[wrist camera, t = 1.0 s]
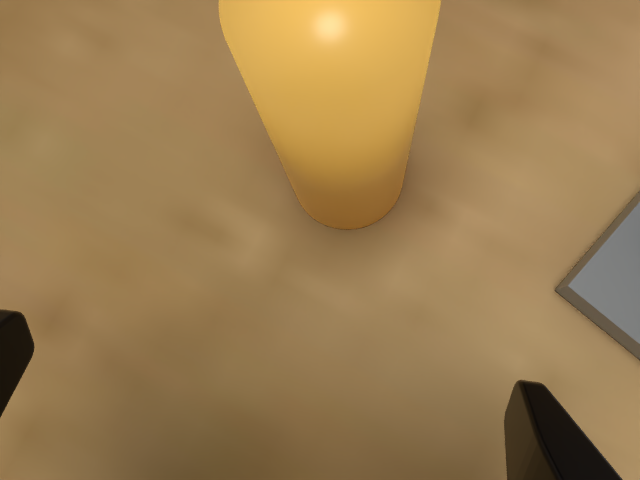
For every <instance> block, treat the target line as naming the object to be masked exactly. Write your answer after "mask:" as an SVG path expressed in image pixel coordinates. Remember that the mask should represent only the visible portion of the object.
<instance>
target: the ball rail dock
mask: <svg viewBox="0 0 640 480" xmlns="http://www.w3.org/2000/svg"><path fill="white" fill-rule="evenodd" d="M555 291H556V292H557V293H559V294H560V295H561V296H562V297H564V298H565V299H566V300H567V301H568V302H570V303H571V304H572V305H573V306H575V307H576V308H577V309H578V310H579V311H581V312H582V313H583V314H584V315H586V316H587V317H588V318H589V319H590V320H592V321H593V322H594V323H595V324H597V325H598V326H599V327H600V328H601V329H603V330H604V331H605V332H606V333H608V334H609V335H610V336H611V337H612V338H614V339H615V340H616V341H617V342H619V343H620V344H621V345H622V346H623V347H625V348H626V349H627V350H628V351H630V352H631V353H632V354H633V355H634V356H636V357H637V358H638V359H639V360H640V191H639V192H638V194H637V195H636V196H635V197H634V198H633V199H632V201H631V202H630V203H629V204H628V205H627V206H626V208H625V209H624V210H623V211H622V212H621V213H620V215H619V216H618V217H617V218H616V219H615V220H614V221H613V223H612V224H611V225H610V226H609V227H608V228H607V230H606V231H605V232H604V233H603V234H602V235H601V237H600V238H599V239H598V240H597V241H596V242H595V244H594V245H593V246H592V247H591V248H590V249H589V251H588V252H587V253H586V254H585V255H584V256H583V258H582V259H581V260H580V261H579V262H578V263H577V265H576V266H575V267H574V268H573V269H572V270H571V272H570V273H569V274H568V275H567V276H566V277H565V278H564V280H563V281H562V282H561V283H560V284H559V285H558V287H557V288H556V289H555Z"/></svg>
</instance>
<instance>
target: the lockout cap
mask: <svg viewBox="0 0 640 480" xmlns="http://www.w3.org/2000/svg"><path fill="white" fill-rule="evenodd" d="M440 4H441V0H219V16H220V22H221V27H222V30H223V33H224V37H225V39H226V42H227V44H228V46H229V48H230V50H231V53H232V55H233V57H234V59H235V61H236V64H237V66H238V68H239V70H240V72H241V75H242V77H243V79H244V81H245V84H246V86H247V88H248V90H249V92H250V95H251V97H252V99H253V101H254V103H255V106H256V108H257V110H258V112H259V114H260V117H261V119H262V121H263V123H264V126H265V128H266V130H267V132H268V134H269V137H270V139H271V141H272V143H273V145H274V148H275V150H276V152H277V154H278V156H279V159H280V161H281V163H282V165H283V168H284V170H285V172H286V174H287V176H288V179H289V181H290V183H291V185H292V187H293V190H294V192H295V194H296V196H297V198H298V200H299V202H300V204H301V206H302V207H303V209H304V210H305V211H306V212H307V213H308V214H309V215H310V216H311V217H312V218H314V219H315V220H317V221H318V222H320V223H322V224H324V225H326V226H329V227H332V228H336V229H346V230H350V229H358V228H363V227H366V226H369V225H371V224H373V223H375V222H377V221H378V220H380V219H381V218H383V217H384V216H385V215H386V214H387V213H388V212H389V211H390V210H391V209H392V208H393V206H394V205H395V203H396V202H397V199H398V197H399V195H400V192H401V189H402V185H403V180H404V176H405V171H406V166H407V161H408V157H409V152H410V147H411V143H412V138H413V133H414V128H415V124H416V119H417V114H418V110H419V105H420V100H421V96H422V91H423V86H424V81H425V77H426V72H427V67H428V63H429V58H430V53H431V48H432V44H433V39H434V34H435V30H436V25H437V20H438V15H439V10H440Z"/></svg>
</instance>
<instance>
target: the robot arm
mask: <svg viewBox="0 0 640 480" xmlns="http://www.w3.org/2000/svg"><path fill="white" fill-rule="evenodd" d="M33 352H34V341H33V339H32V336H31V333H30V330H29V327H28V324H27V322H26V319H25V317H24V315H23V314H22V313H21V312H18V311H10V310H0V417H1V415H2V413H3V411H4V410H5V408H6V406H7V404H8V402H9V400H10V398H11V396H12V394H13V392H14V390H15V389H16V387H17V385H18V383H19V381H20V379H21V377H22V375H23V373H24V371H25V369H26V368H27V366H28V364H29V362H30V360H31V358H32V356H33ZM504 430H505V448H506V466H507V480H622V478H621V477H620V476H619V475H618V473H617V472H616V471H615V470H614V469H613V467H612V466H611V465H610V464H609V463H608V461H607V460H606V459H605V458H604V457H603V455H602V454H601V453H600V452H599V450H598V449H597V448H596V447H595V446H594V444H593V443H592V442H591V441H590V440H589V438H588V437H587V436H586V435H585V433H584V432H583V431H582V430H581V429H580V427H579V426H578V425H577V424H576V423H575V421H574V420H573V419H572V418H571V417H570V415H569V414H568V413H567V412H566V410H565V409H564V408H563V407H562V406H561V404H560V403H559V402H558V401H557V400H556V398H555V397H554V396H553V395H552V394H551V392H550V391H549V390H548V389H547V387H546V386H545V385H543V384H542V383H539V382H532V381H525V380H519V381H517V382H516V383H515V385H514V388H513V391H512V394H511V397H510V400H509V403H508V406H507V409H506V412H505V419H504Z"/></svg>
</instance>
